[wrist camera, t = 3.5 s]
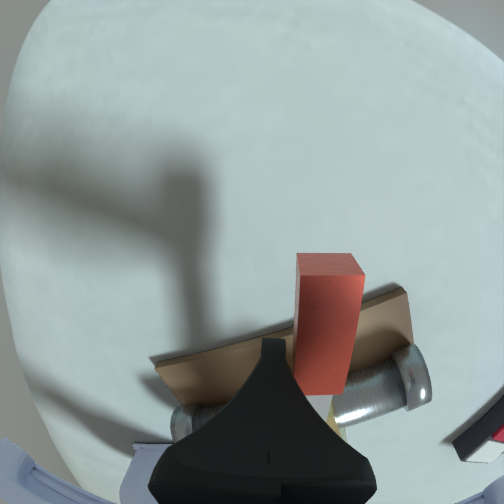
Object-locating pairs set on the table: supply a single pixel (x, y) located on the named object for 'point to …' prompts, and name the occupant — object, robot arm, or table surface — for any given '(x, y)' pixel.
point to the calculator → (483, 437)
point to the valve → (348, 395)
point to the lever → (325, 324)
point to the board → (249, 352)
